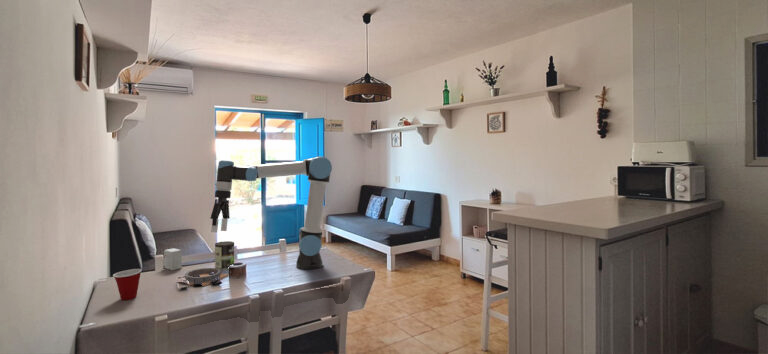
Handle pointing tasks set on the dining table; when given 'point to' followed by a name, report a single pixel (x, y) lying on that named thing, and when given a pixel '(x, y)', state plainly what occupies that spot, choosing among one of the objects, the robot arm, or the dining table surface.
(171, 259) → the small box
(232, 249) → the coffee can
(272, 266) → the dining table surface
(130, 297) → the plastic cup
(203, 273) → the collar plate
